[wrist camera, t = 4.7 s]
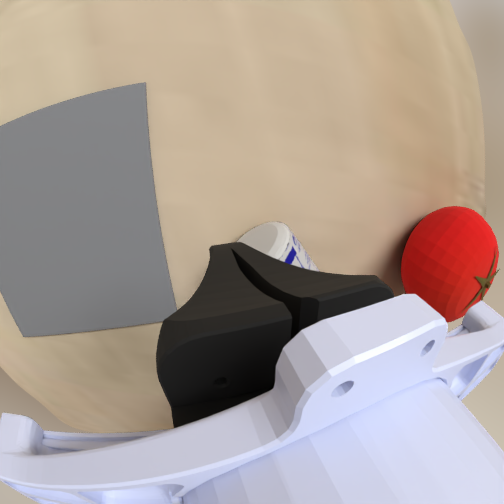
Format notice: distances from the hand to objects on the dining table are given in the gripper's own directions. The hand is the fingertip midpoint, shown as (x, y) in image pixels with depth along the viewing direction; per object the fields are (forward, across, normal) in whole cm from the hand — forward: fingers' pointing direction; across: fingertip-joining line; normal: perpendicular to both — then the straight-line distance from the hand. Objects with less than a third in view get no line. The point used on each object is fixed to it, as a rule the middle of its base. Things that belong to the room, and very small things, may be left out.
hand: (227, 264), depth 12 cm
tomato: (+10, -25, +7) cm, 27 cm away
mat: (+9, +12, 0) cm, 15 cm away
